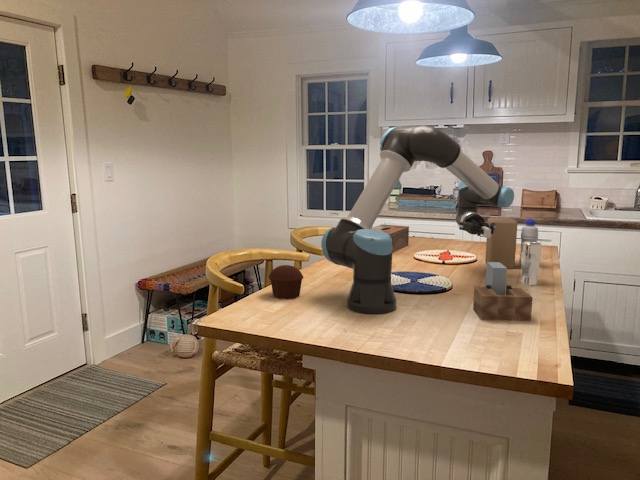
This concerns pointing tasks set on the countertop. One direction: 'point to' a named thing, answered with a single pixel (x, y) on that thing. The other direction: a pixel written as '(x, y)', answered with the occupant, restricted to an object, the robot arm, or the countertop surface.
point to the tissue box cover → (395, 235)
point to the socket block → (502, 304)
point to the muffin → (286, 282)
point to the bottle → (529, 233)
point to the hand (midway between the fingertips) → (488, 233)
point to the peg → (496, 277)
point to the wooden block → (502, 242)
